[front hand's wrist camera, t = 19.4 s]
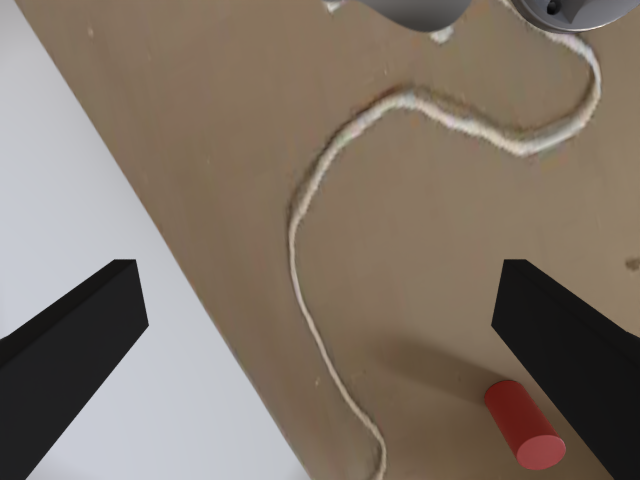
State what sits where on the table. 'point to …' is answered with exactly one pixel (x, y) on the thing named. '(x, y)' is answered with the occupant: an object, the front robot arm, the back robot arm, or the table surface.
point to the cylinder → (524, 426)
